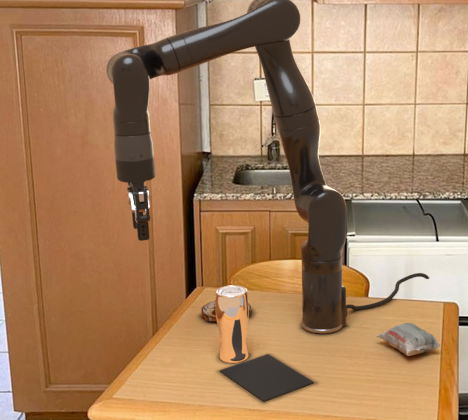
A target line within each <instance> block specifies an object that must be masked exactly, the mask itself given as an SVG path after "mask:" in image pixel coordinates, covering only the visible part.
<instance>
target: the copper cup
mask: <svg viewBox="0 0 468 420" xmlns="http://www.w3.org/2000/svg"><path fill="white" fill-rule="evenodd" d="M215 301H216V302H215V310H216V319H217V321H216V324H217V328H218V329H217V330H218V333H219V338H220V350H219V359H220V360H221V361H223V362H224V363H229V364H236V363H243V362H245V361H246V360H247V359H248V358H249V350H248V345H247V334H248V325H249V318H250V316H249V304H250V302H249V295H248V289H247V288H246V287H245V286H242V285H239V284H238V285H236V284H232V285H231V284H230V285H224V286H221V287H218V288H216V290H215Z"/></svg>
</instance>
